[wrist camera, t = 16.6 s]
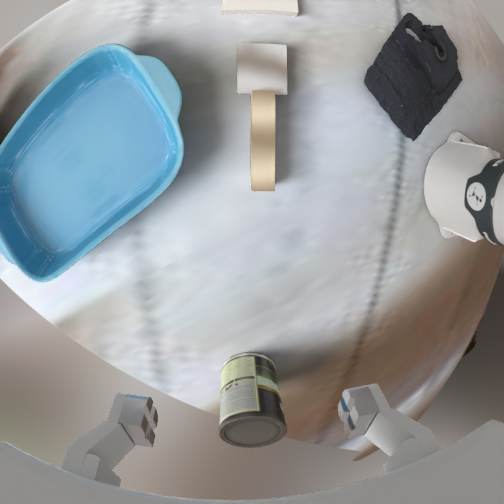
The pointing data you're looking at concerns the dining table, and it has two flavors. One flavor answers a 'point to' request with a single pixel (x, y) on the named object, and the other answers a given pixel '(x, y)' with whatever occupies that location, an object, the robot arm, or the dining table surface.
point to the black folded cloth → (414, 75)
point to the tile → (260, 7)
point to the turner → (262, 104)
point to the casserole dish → (87, 158)
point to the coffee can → (250, 402)
